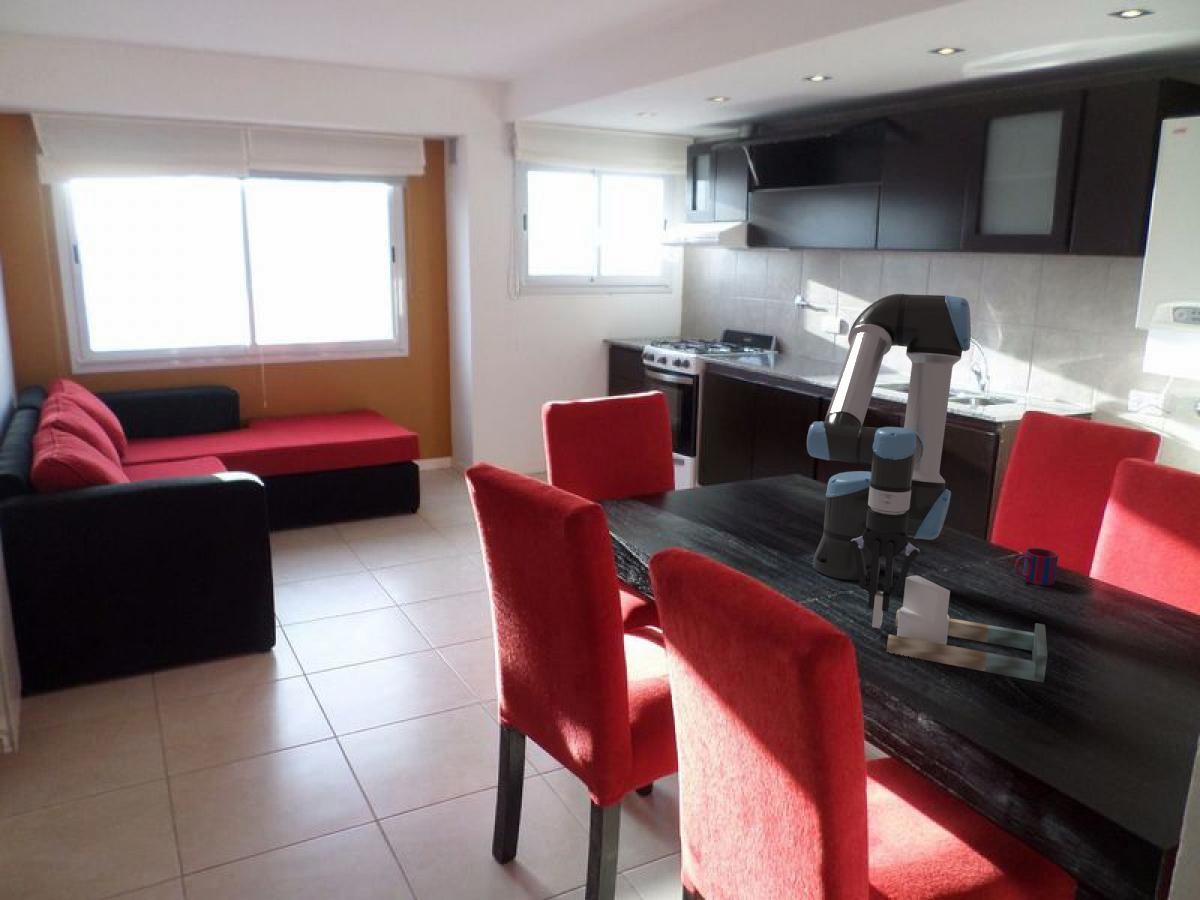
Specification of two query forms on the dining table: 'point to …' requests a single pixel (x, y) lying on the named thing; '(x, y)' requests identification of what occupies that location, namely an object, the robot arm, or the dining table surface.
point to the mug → (1038, 566)
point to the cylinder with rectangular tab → (924, 611)
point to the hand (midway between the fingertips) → (876, 625)
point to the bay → (978, 658)
